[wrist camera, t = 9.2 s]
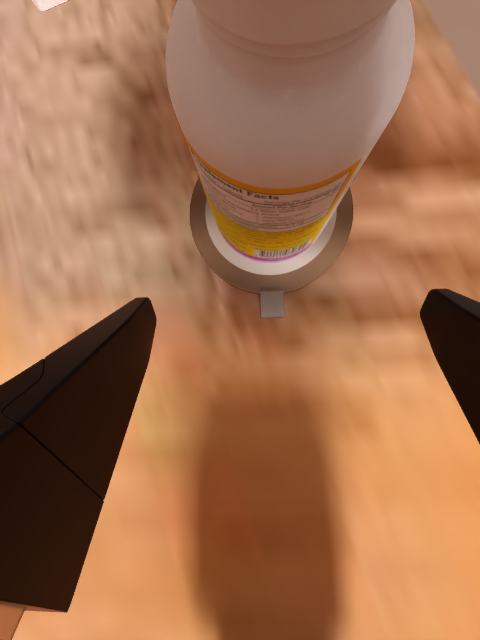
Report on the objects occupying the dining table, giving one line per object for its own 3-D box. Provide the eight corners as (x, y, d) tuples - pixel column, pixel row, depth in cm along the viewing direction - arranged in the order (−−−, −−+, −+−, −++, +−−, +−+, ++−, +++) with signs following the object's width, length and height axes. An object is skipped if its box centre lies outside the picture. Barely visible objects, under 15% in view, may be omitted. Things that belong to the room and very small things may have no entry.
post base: (351, 316, 17) (358, 314, 16) (194, 319, 18) (189, 318, 17) (342, 120, 18) (349, 103, 17) (193, 130, 19) (188, 115, 17)
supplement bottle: (258, 140, 17) (266, -458, 4) (347, 200, 16) (664, -281, 4) (193, 225, 17) (-1, -123, 4) (280, 288, 16) (366, 112, 4)
